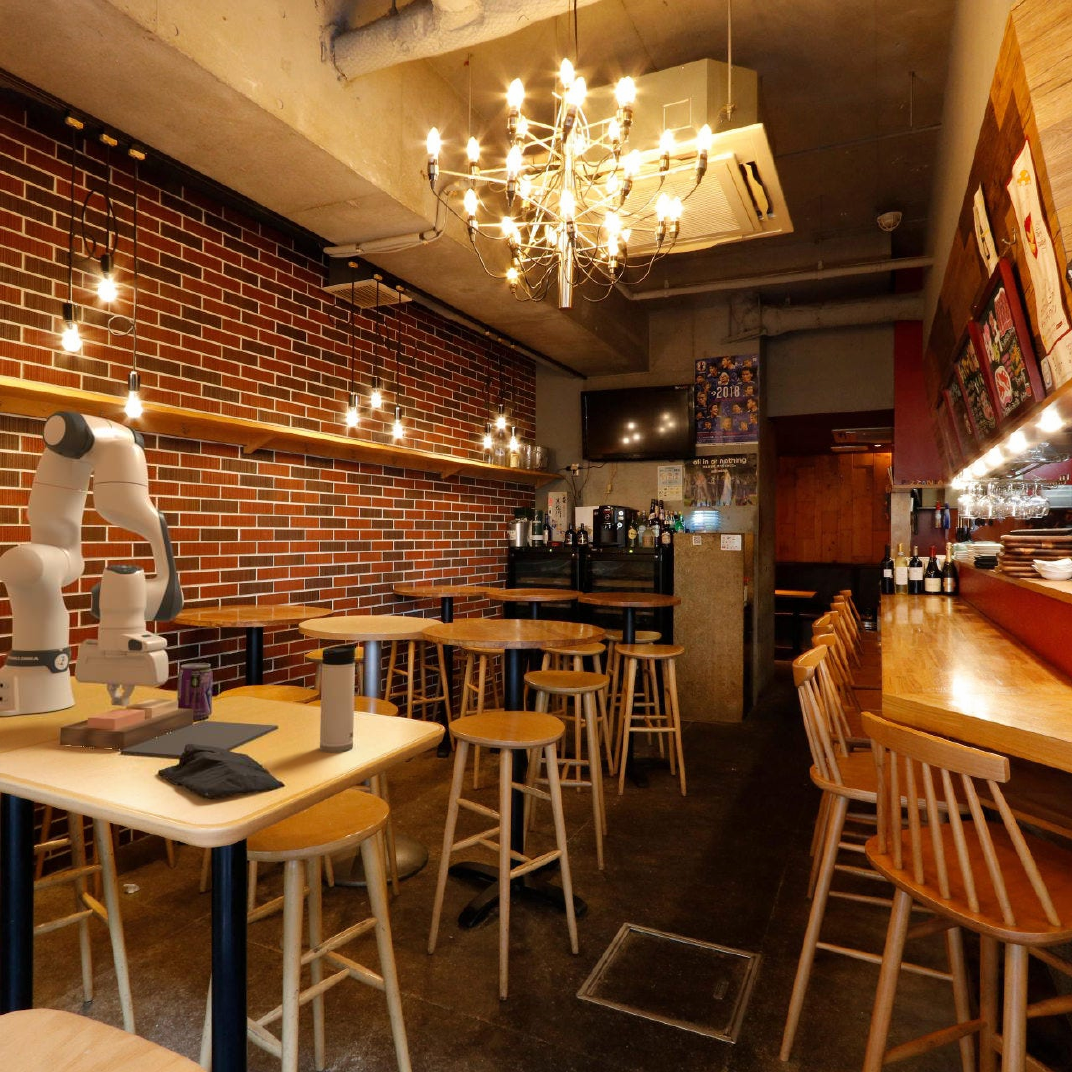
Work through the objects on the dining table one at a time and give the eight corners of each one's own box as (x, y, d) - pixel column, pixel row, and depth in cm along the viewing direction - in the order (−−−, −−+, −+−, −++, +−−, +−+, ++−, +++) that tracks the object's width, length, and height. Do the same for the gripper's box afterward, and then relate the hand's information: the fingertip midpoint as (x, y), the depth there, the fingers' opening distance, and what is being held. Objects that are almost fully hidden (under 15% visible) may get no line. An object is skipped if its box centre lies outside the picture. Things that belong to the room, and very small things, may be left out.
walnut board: (60, 745, 136) (60, 727, 136) (135, 721, 156) (136, 705, 156) (123, 750, 133) (124, 732, 134) (192, 725, 153) (193, 709, 153)
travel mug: (360, 748, 138) (363, 646, 138) (329, 754, 133) (332, 648, 134) (344, 741, 142) (346, 642, 143) (314, 747, 138) (316, 645, 138)
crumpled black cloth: (191, 811, 105) (192, 779, 105) (154, 774, 121) (155, 747, 121) (291, 790, 115) (292, 760, 115) (245, 758, 131) (245, 733, 131)
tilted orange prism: (87, 727, 136) (87, 717, 136) (118, 718, 144) (119, 708, 144) (114, 729, 135) (114, 719, 135) (144, 720, 143) (144, 710, 143)
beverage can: (201, 722, 156) (203, 668, 156) (170, 721, 156) (172, 667, 157) (217, 714, 163) (218, 662, 163) (186, 714, 163) (188, 662, 164)
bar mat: (120, 753, 131) (120, 750, 131) (202, 723, 155) (202, 720, 155) (207, 760, 128) (207, 757, 128) (278, 728, 152) (278, 725, 152)
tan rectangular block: (125, 716, 146) (126, 706, 146) (153, 707, 154) (153, 698, 154) (151, 717, 145) (151, 708, 145) (177, 709, 153) (178, 700, 153)
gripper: (67, 640, 150) (66, 705, 149) (153, 644, 146) (151, 710, 146) (91, 637, 156) (89, 699, 156) (174, 640, 152) (172, 704, 152)
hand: (120, 705), depth 151 cm, fingers closed
